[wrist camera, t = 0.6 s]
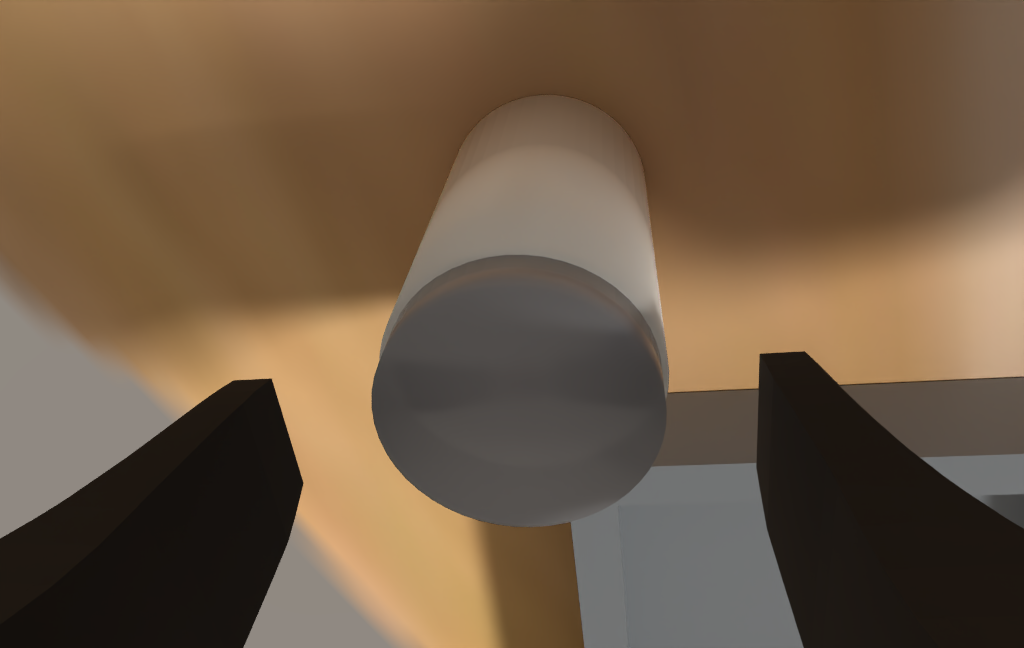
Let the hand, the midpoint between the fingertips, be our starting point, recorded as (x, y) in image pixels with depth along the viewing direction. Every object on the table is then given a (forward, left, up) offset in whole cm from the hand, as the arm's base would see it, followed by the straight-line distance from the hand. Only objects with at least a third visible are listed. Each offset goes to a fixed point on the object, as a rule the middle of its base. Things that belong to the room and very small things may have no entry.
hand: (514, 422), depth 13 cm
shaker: (0, 0, -9) cm, 9 cm away
